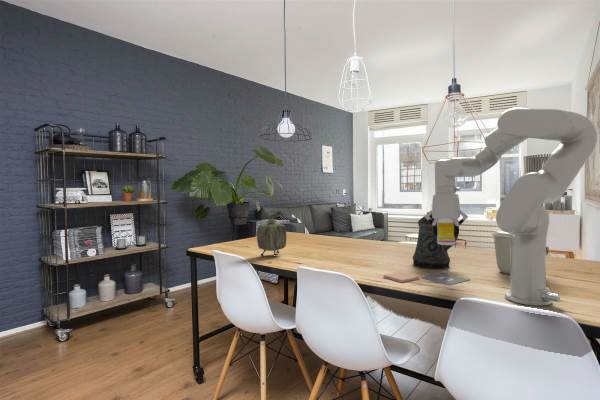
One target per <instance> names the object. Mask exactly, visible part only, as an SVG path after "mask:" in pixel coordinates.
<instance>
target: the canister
mask: <svg viewBox="0 0 600 400" xmlns="http://www.w3.org/2000/svg"><path fill="white" fill-rule="evenodd" d="M491 235H492V236H493V242H494V244H493V245H494V251H495V252H494V253H495V259H496V265H497V268H498V270H499V271H500V272H501V273H503V274H507V275H510V271H511V239H512V235H513V234H510V233H506V232H504V231H502V230H501V229H498V230H495V231H494V232H491Z"/></svg>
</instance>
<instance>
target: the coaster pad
mask: <svg viewBox="0 0 600 400" xmlns="http://www.w3.org/2000/svg"><path fill="white" fill-rule="evenodd" d="M382 277H383V278H385V279H388V280H392V281H394V282H395V281H396V282H399V283H407V282H412V281H417V280H420V279H421V277H420V275H416V274H412V273H408V272H404V271H396V272H391V273H385V274H383V276H382Z"/></svg>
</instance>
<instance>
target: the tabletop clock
mask: <svg viewBox="0 0 600 400" xmlns="http://www.w3.org/2000/svg"><path fill="white" fill-rule="evenodd" d="M269 213H275V216H273V215H271V216H268V214H269ZM277 217H278V213H277V212H276V211H275V210H269V211H267V212H266V218H268V221H267V223H261V224H259V225H258V227H257V231H256V240H257V241H256V242H257V246H258V249H260V250H263V251H262V253H260V256H261V257H264V254H265V253H266V252H267V251H269V252H273V256H274V255H276V256H277V253H279V254H280V251H279V250H283V249H284V248H286V246H287V229H286V226H285V224H283V223H282V224H281V223H277V220H276V219H275V218H277Z"/></svg>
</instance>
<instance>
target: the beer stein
mask: <svg viewBox="0 0 600 400" xmlns="http://www.w3.org/2000/svg"><path fill="white" fill-rule="evenodd" d="M429 212H430V211H428V212H426V214H428V213H429ZM429 217H430V218H431V219H432V220H433V221H434V218H432V214H431V215H430V216H429ZM417 224H418V227H419V229H418V232H417V233H418V234H417V235H418V236H417V241H416V246H415V250H414V253H413V256H412V261H413V262H412V265H414V266H415V267H417V268H421V269H428V270H445V269H448V268H449V267H450V263H451V259H450V256H449V252H448V250H449V249H451V248H452V247H453V246H454V245H440V244H438V243H437V236H435V234H433V225H432V224H431V223H430V222H429V221H428V220H427V219H426V218H425V215H424V216H422V217H421V218H420V219H419V220H418V222H417ZM458 237H459V234H457V237H455V243H456V242H457V240H458Z"/></svg>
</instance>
